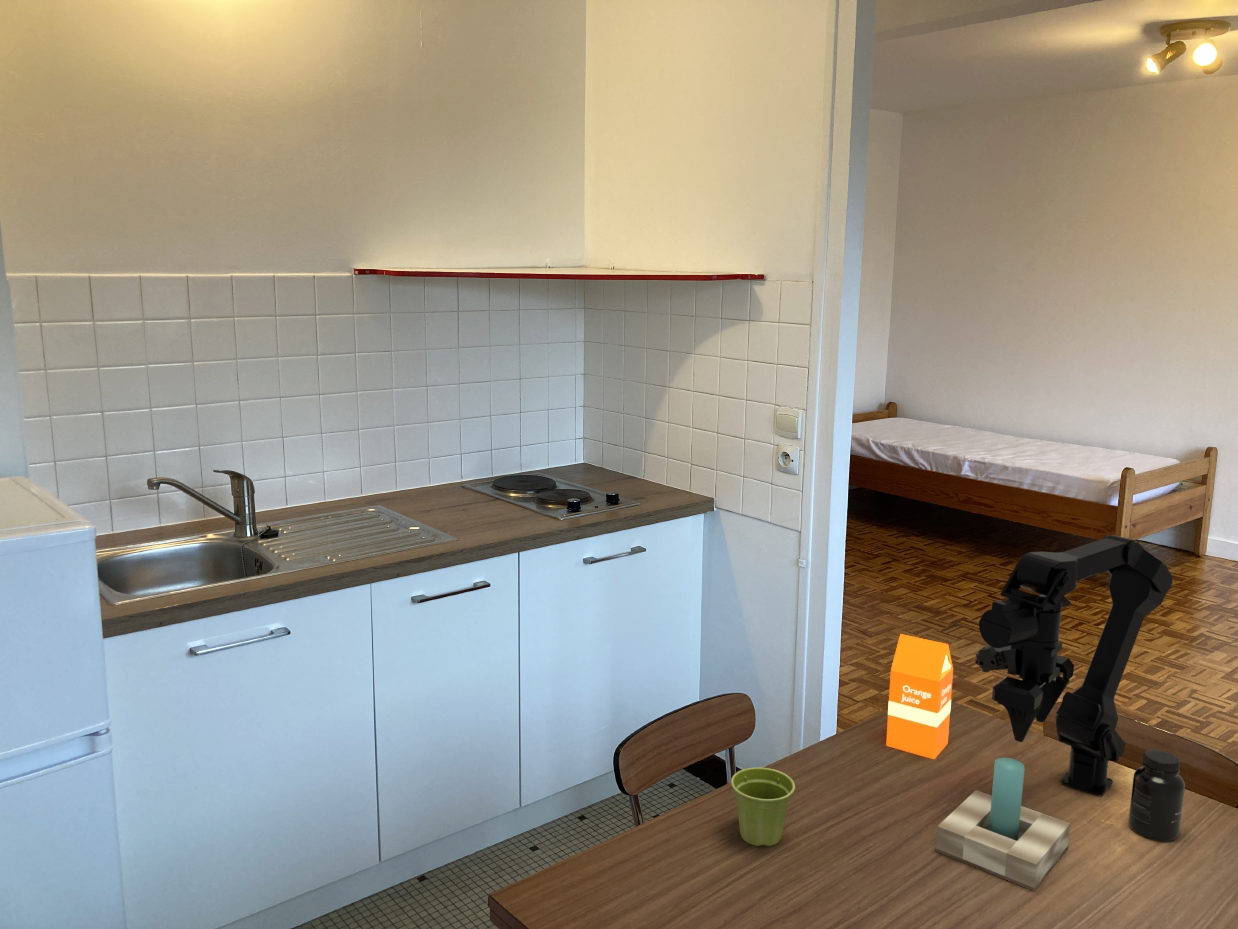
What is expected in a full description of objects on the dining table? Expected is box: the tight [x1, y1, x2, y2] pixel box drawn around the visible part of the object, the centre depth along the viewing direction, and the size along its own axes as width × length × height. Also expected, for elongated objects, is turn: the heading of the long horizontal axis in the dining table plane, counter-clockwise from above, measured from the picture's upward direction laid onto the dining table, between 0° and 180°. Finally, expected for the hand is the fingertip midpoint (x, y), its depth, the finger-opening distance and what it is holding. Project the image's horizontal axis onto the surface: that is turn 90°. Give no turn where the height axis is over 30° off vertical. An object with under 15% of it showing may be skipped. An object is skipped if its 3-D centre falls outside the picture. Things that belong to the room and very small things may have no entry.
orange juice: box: [885, 633, 954, 760], centre depth 172 cm, size 8×9×20 cm
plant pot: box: [730, 766, 796, 847], centre depth 144 cm, size 9×9×9 cm
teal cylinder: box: [989, 757, 1025, 841], centre depth 140 cm, size 4×4×13 cm
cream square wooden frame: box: [935, 789, 1071, 892], centre depth 141 cm, size 14×14×4 cm
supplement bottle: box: [1128, 749, 1186, 842], centre depth 146 cm, size 7×7×12 cm
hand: (1029, 731), depth 151 cm, fingers open, 9 cm apart
